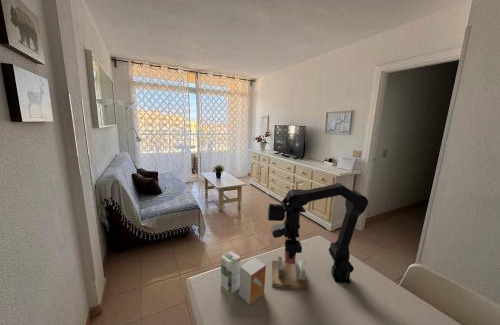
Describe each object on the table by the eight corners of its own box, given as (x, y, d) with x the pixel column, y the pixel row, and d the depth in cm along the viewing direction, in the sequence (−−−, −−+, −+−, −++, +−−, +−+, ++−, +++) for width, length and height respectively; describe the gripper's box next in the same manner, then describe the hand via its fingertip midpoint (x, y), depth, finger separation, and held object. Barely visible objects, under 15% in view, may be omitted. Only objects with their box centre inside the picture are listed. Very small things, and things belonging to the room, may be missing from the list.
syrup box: (220, 288, 82) (220, 256, 79) (231, 280, 86) (231, 249, 83) (229, 296, 78) (229, 263, 75) (240, 287, 82) (241, 256, 79)
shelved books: (302, 268, 92) (302, 259, 91) (304, 280, 85) (305, 270, 84) (294, 267, 92) (295, 258, 92) (296, 279, 86) (297, 270, 85)
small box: (250, 306, 74) (251, 275, 72) (238, 295, 79) (239, 266, 76) (264, 293, 80) (266, 264, 77) (253, 284, 84) (254, 256, 82)
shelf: (301, 266, 96) (302, 263, 95) (306, 290, 82) (307, 287, 82) (272, 263, 97) (272, 260, 97) (272, 286, 84) (272, 283, 83)
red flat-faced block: (293, 254, 91) (294, 236, 89) (294, 264, 85) (296, 244, 83) (284, 254, 91) (285, 236, 89) (285, 263, 85) (286, 244, 83)
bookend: (281, 265, 94) (281, 257, 93) (281, 278, 86) (282, 269, 85) (277, 265, 94) (278, 256, 93) (278, 278, 86) (279, 269, 85)
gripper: (272, 209, 94) (271, 239, 97) (273, 231, 76) (271, 267, 79) (297, 211, 93) (294, 241, 96) (303, 233, 75) (300, 270, 78)
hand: (290, 253), depth 87 cm, fingers closed on red flat-faced block, 6 cm apart
